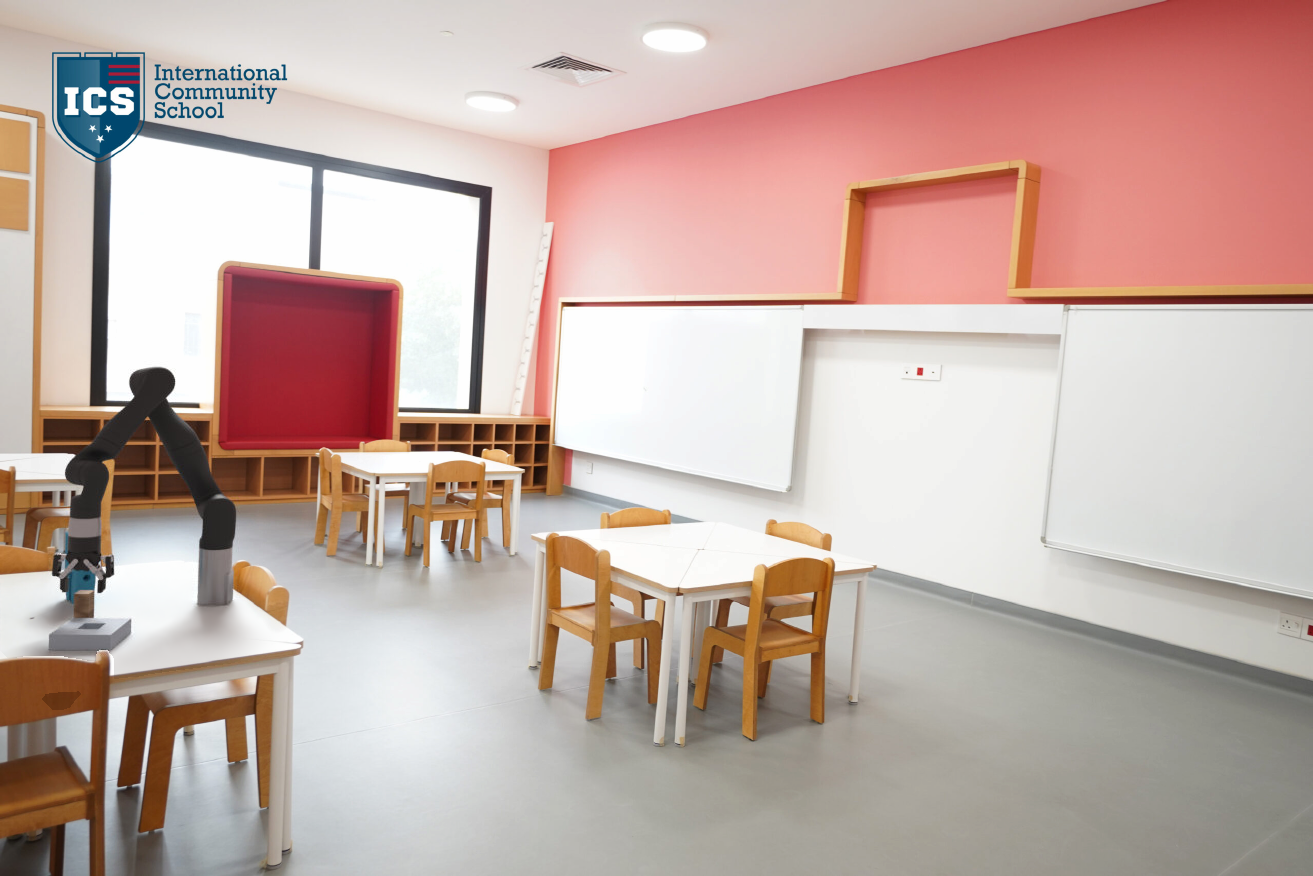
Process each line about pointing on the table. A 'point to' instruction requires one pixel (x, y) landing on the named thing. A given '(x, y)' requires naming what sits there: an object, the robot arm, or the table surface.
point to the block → (78, 578)
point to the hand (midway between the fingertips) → (82, 592)
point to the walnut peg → (84, 604)
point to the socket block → (90, 634)
